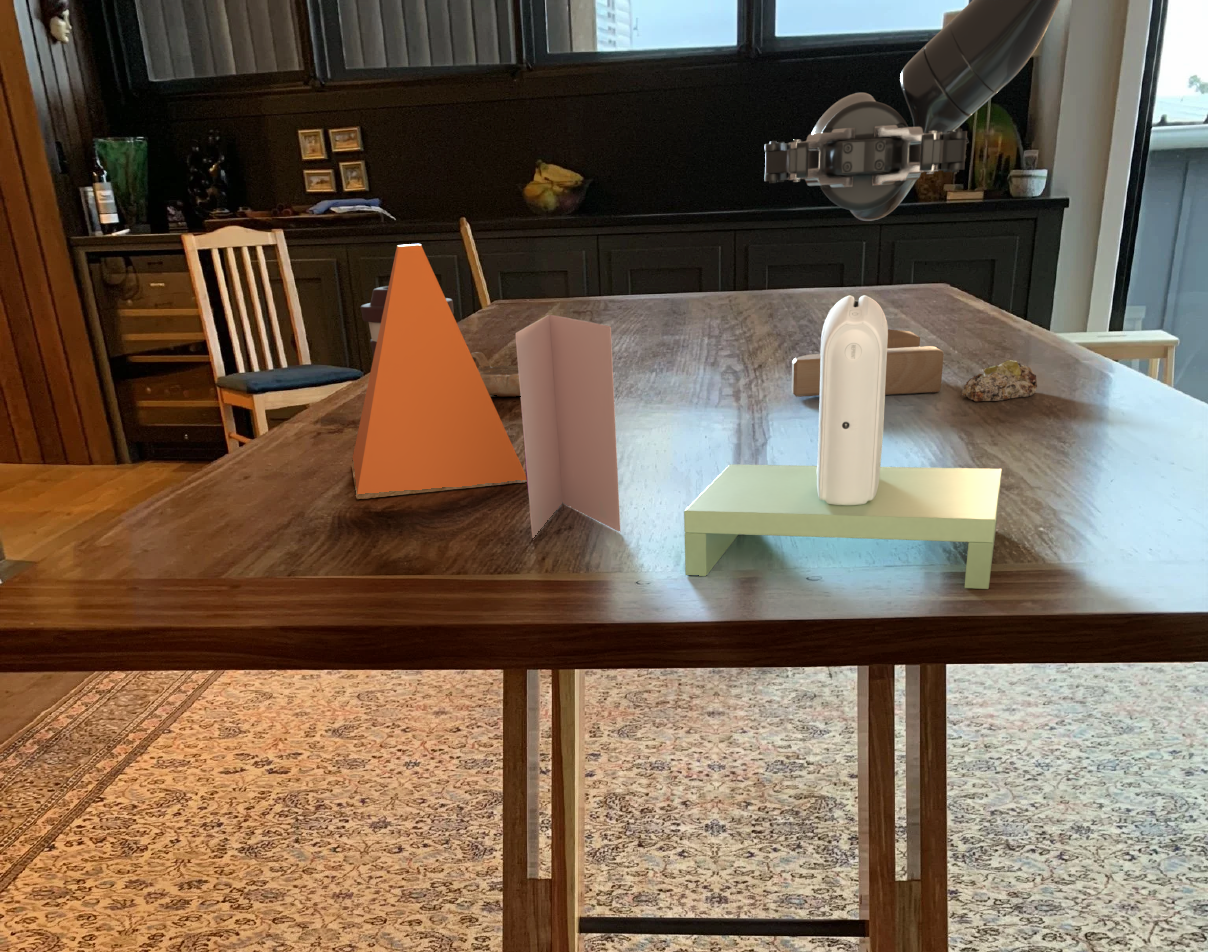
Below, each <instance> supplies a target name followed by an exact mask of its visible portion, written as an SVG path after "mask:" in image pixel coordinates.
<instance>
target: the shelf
mask: <svg viewBox="0 0 1208 952" xmlns="http://www.w3.org/2000/svg"><path fill="white" fill-rule="evenodd" d="M816 470H817V465H797V464H796V465H792V464H791V465H790V464H789V465H786V464H784V465H783V464H780V465H779V464H728V465H727V467H725V469H723V471H722V472H721V473H720V474H719V475H717V477H716V478H715V479H714V480H713V481H712V482H711V483H710V484H709V485H707V487H706V488H705V489H704V490H703V491H702V492H701V493H700V494H699V495H698V496H697V497H696V498H695V499H694V500H693V501H692V502H691V504H690V505H689V506H687V507H686V508H685V510H684V511H683V519H684V520H683V522H684V523H683V525H684V527H683V528H684V530H683V531H684V567H685V568H684V570H685V571H684V573H685V576H686V575H699V576H698V577H707V576H708V575H709V574H710V572H711V571H712V569H713V568H714V567H715V566H716V565H717V563H718V562H719V561H720V560H721V558H722V557H723V555H724V554H725V553H726V552H727V551H728V549H729V548H730V546H731V545H732V544H733V543H734V542H735V540H736V539H737V538H738V536H740V535H748V536H749V535H750V536H775V537H803V538H804V537H807V538H831V539H832V538H836V539H861V540H863V539H865V540H866V539H867V540H893V541H894V540H895V541H896V540H897V541H923V542H924V541H926V542H951V543H952V542H955V543H956V542H957V543H967V553H966V554H967V555H966V564H965V575H964V587H963V588H964V589H974V590H975V589H976V590H977V589H978V590H989V587H990V581H991V571H992V564H993V558H994V557H993V556H994V547H995V539H996V533H997V532H996V531H997V523H998V512H999V502H1000V494H1001V483H1002V473H1003V469H1002V468H983V467H982V468H981V467H980V468H977V467H975V468H974V467H919V466H918V467H917V466H916V467H915V466H914V467H911V466H910V467H909V466H880V476H879V484H878V489H877V493H876V496H875V497H874V499H873V500H870V501H867V503H866V504H862V505H847V506H843V505H831V504H827V503H826V501H824V500H820V499H819V496H818V491H817V474H816ZM706 575H707V576H706Z"/></svg>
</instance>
